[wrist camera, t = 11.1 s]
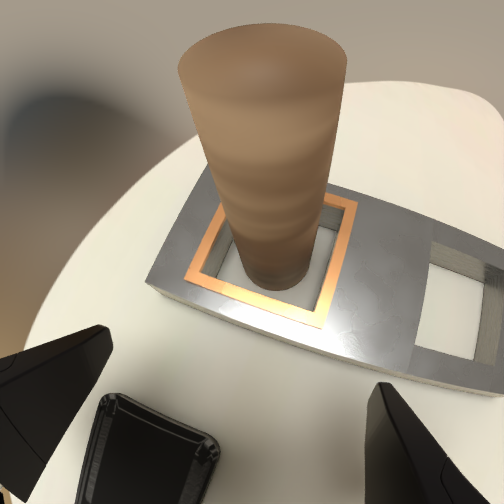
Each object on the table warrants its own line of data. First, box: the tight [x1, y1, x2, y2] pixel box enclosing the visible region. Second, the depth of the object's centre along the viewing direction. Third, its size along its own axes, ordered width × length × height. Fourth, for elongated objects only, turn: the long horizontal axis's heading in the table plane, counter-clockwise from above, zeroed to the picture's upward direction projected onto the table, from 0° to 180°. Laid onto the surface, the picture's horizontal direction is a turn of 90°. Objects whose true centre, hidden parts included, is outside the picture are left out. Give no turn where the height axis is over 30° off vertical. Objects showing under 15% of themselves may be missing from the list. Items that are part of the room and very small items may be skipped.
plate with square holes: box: [145, 164, 504, 397], centre depth 15 cm, size 23×9×3 cm, turn 69°
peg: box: [178, 23, 347, 291], centre depth 12 cm, size 4×4×13 cm
